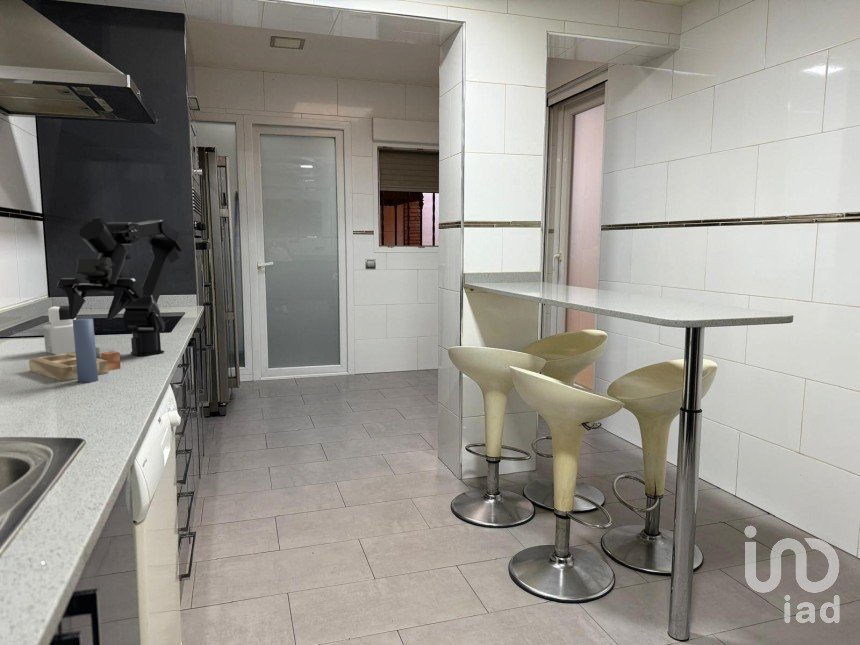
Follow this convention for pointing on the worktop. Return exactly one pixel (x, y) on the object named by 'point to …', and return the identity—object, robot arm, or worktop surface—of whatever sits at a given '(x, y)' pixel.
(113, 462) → the worktop surface
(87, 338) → the blue-grey cylinder
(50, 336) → the container
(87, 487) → the worktop surface
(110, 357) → the socket board
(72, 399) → the worktop surface
